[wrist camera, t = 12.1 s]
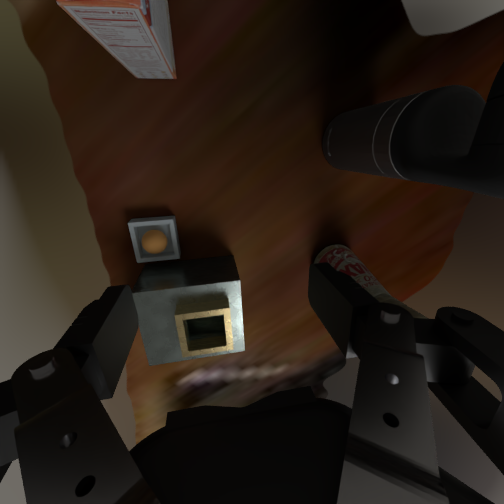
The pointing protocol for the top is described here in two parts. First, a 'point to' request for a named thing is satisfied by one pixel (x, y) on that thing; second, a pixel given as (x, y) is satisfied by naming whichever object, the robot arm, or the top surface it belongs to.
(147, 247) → the bead
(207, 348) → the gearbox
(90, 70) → the top surface
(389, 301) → the bottle
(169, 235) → the bead dish
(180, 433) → the robot arm
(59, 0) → the cracker box
